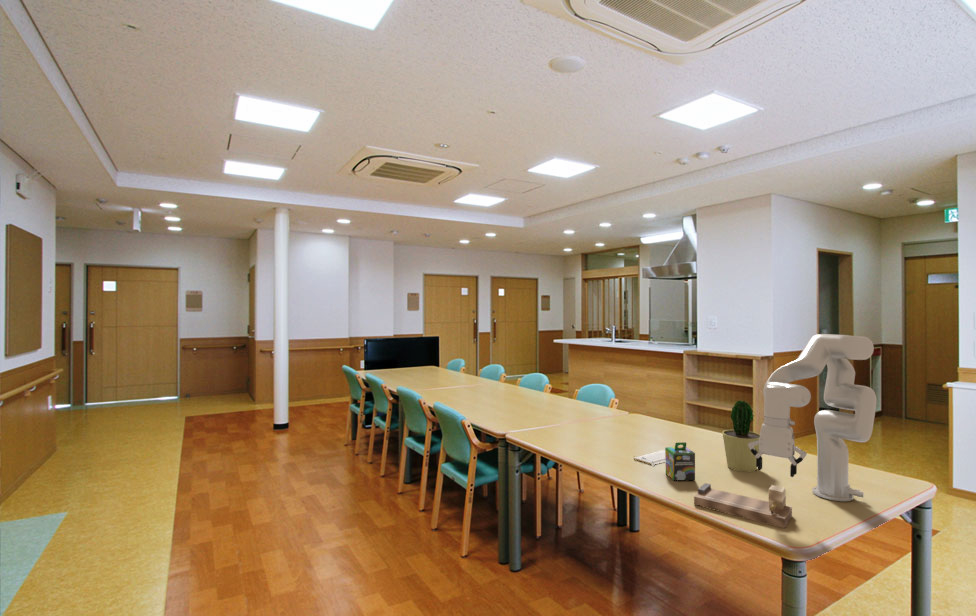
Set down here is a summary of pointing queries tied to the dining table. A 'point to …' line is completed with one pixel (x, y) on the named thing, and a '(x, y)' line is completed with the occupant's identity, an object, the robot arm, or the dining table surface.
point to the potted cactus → (741, 439)
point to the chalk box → (680, 462)
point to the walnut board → (742, 506)
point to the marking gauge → (776, 498)
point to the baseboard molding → (652, 457)
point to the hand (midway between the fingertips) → (775, 472)
